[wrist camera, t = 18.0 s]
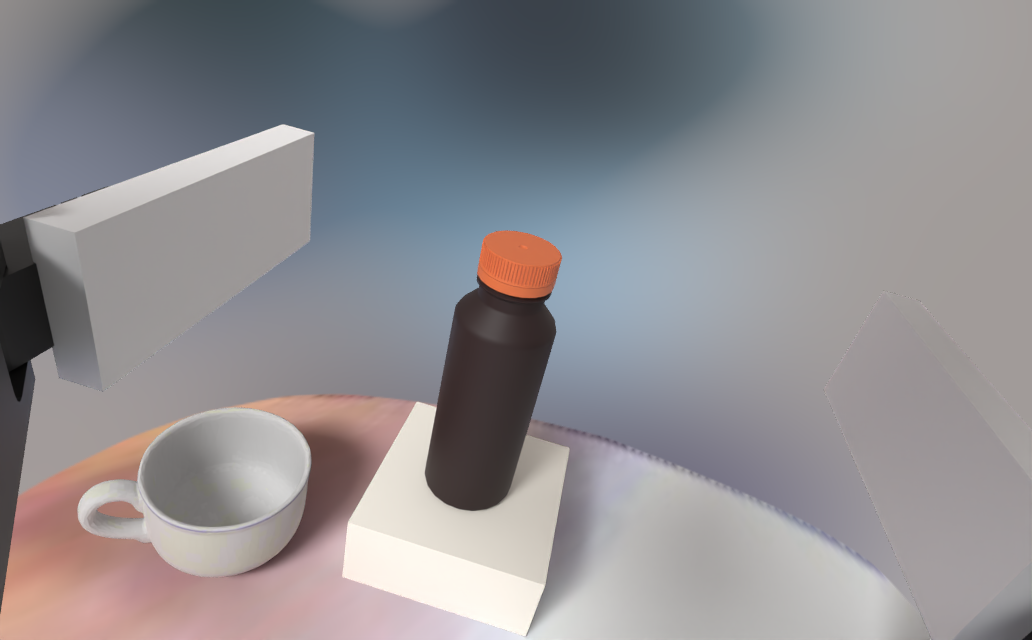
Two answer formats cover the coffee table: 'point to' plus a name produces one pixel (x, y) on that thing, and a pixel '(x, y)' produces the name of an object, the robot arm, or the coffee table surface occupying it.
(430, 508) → the riser
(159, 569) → the coffee table surface
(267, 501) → the teacup
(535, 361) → the vinegar
